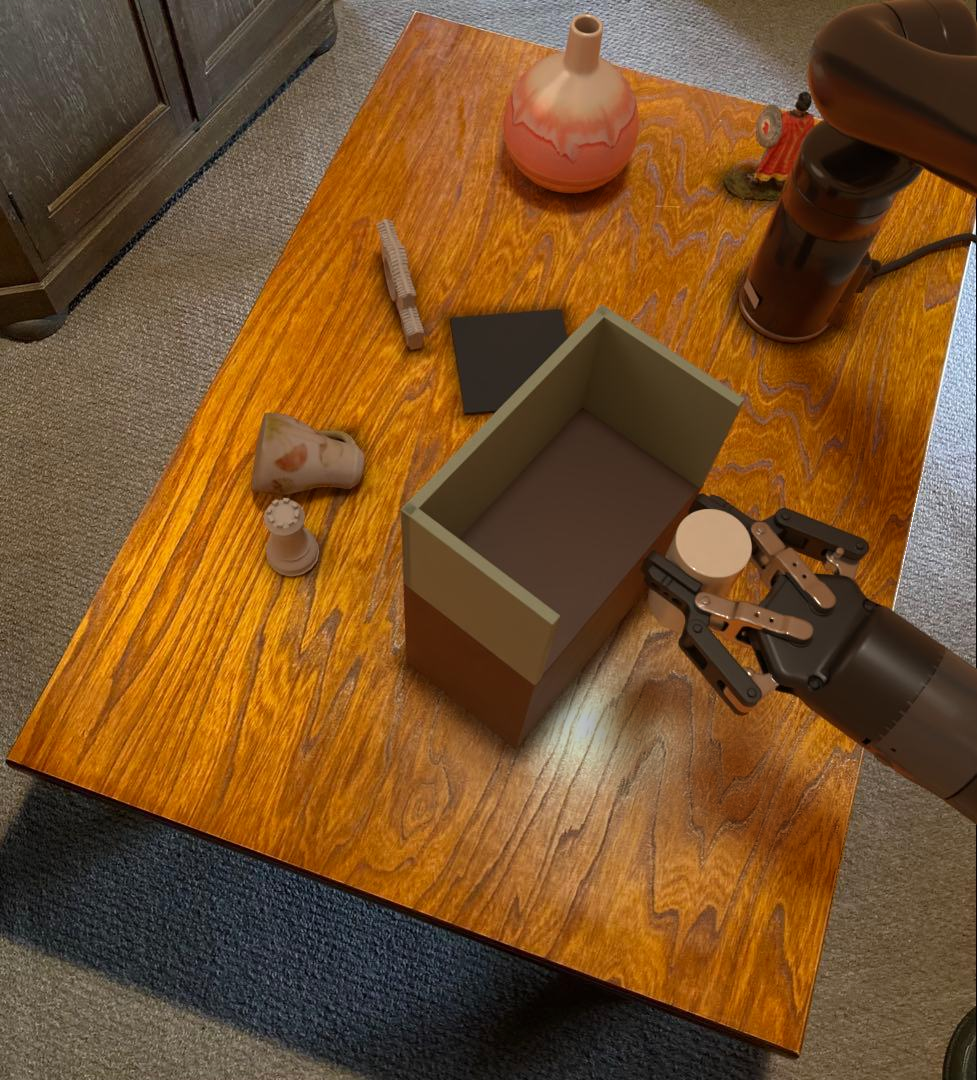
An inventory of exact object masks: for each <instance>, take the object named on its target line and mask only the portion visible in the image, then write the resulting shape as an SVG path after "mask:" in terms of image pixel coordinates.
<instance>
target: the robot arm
mask: <svg viewBox="0 0 977 1080" xmlns="http://www.w3.org/2000/svg"><path fill="white" fill-rule="evenodd" d="M806 75H807V85H808V89H809V94H810V95H811V100H812V102H813V104H814V106H815V108H816V110H817V111H818V113H819V115H820V116H821V118H822V120H821V121H818V123H816V124H814V127H813V128H812V129H811V130H810V131H809V132H808V133H807V134H806V136H805V137H804V139H803V141H802V143H801V145H800V147H799V149H798V152H797V154H796V157H795V159H794V161H793V164H792V166H791V169H790V171H789V174H788V176H787V178H786V181H785V183H784V186H783V188H782V191H781V193H780V196H779V198H778V199H777V200H776V203H775V205H774V208H773V210H772V213H771V215H770V218H769V220H768V222H767V225H766V228H765V230H764V232H763V235H762V236H761V240H760V241H759V244H758V247H757V249H756V252H755V253H754V256H753V259H752V261H751V264H750V266H749V269H748V271H747V274H746V276H745V278H744V279H743V281H742V283H741V285H740V288H739V291H738V306H739V310H740V313H741V314H742V316H743V318H744V320H745V321H746V322H747V323H748V325H749V326H751V327H752V329H754V330H755V331H757V332H758V333H760V334H761V335H762V336H764V337H767V338H769V339H771V340H774V341H778V342H783V343H790V344H791V343H793V344H794V343H797V344H798V343H803V342H807V341H811V340H813V339H815V338H817V337H819V336H820V335H821V334H823V332H825V330H826V329H827V328H830V327H836V326H837V325H838V324H839V322H840V320H841V318H842V317H843V315H844V313H845V311H846V309H847V307H848V305H849V304H850V302H851V300H852V298H853V296H854V295H855V294H856V295H857V294H863V293H864V291H865V289H866V288H867V286H868V284H869V282H870V280H871V279H872V278H876V277H879V276H881V275H884V274H886V273H889V272H891V271H893V270H896V269H897V268H899V267H902V266H905V265H906V264H909V263H910V262H912V261H914V260H916V259H917V258H919V257H921V256H923V255H926V254H928V253H931V252H934V251H937V250H939V249H942V248H945V247H947V246H950V245H954V244H958V243H961V242H972V243H973V244H975V245H977V234H975V233H971V232H965V233H960V234H959V233H958V234H955V235H951V236H949V237H945V238H943V239H939V240H937V241H934V242H931V243H928V244H926V245H925V244H924V246H921V247H919V248H917V249H915V250H913V251H912V252H909V253H908V254H906V255H904V256H901V257H900V258H896V259H895V260H893V261H891V262H888V263H886V264H884V265H882V263H881V261H879V260H878V259H876V258H875V259H874V258H872V256H871V254H870V251H869V250H870V247H871V246H872V244H873V243H874V240H875V238H876V237H877V235H878V233H879V231H880V229H881V227H882V225H883V224H884V222H885V220H886V218H887V216H888V214H889V212H890V210H891V208H892V207H893V205H894V204H895V201H896V200H897V198H898V196H899V195H900V193H901V192H902V191H904V190H905V189H907V188H908V187H909V186H911V185H912V184H913V183H914V182H915V181H916V180H917V179H918V178H919V177H920V175H921V174H922V172H923V171H924V170H925V171H927V172H928V173H930V174H932V175H933V176H935V177H937V178H939V179H941V180H942V181H944V182H946V183H947V184H949V185H951V186H953V187H955V188H957V189H959V190H961V191H962V192H964V193H966V194H968V195H970V196H972V197H973V198H975V199H977V19H976V17H975V15H974V13H973V11H972V10H971V8H970V7H969V6H968V5H967V4H966V3H965V2H964V1H963V0H885V1H879V2H870V3H864V4H859V5H856V6H853V7H851V8H848V9H846V10H844V11H842V12H840V13H838V14H837V15H835V16H834V17H832V18H831V19H829V21H827V22H826V24H825V25H824V26H823V27H822V28H821V30H820V31H819V32H818V33H817V36H816V37H815V39H814V40H813V42H812V45H811V49H810V51H809V55H808V59H807V69H806ZM704 509H715V510H720V511H724V512H726V513H728V514H730V515H732V516H734V517H735V518H736V519H738V520H739V521H740V522H741V523H742V524H743V525H744V527H745V528H746V530H747V531H748V533H749V536H750V539H751V543H752V552H751V557H750V559H749V561H750V563H751V564H752V565H753V566H754V567H755V568H756V570H757V571H758V573H759V579H760V580H761V582H762V583H763V584H764V586H765V587H766V589H767V590H768V592H767V594H766V596H765V598H763V599H762V600H761V601H760V602H759V604H758V605H757V604H754V603H751V602H748V601H745V600H738V601H734V600H731V599H728V598H723V597H720V596H717V595H714V594H711V593H709V592H703V591H701V590H700V589H701V587H702V585H703V584H701V583H700V582H699V581H697V580H696V579H694V578H693V577H691V576H689V575H688V574H687V573H686V572H685V571H683V570H682V569H680V568H679V567H678V566H676V565H675V564H673V563H672V562H671V561H669V560H668V559H666V558H665V557H664V556H662V555H661V554H659V553H658V552H656V551H651V552H650V553H649V554H648V555H647V557H646V558H645V559H644V561H643V564H642V566H641V568H640V569H641V572H642V573H643V574H644V575H645V578H644V581H645V583H646V584H647V586H648V589H649V590H650V589H652V590H653V591H654V592H656V593H657V594H658V595H660V596H662V597H663V598H664V599H665V600H667V601H668V602H669V603H671V604H672V605H674V606H675V607H676V608H678V609H679V610H680V611H681V612H682V613H683V614H684V616H685V625H684V628H683V632H682V633H681V635H680V637H679V638H678V642H677V644H678V647H679V648H680V650H681V651H682V652H683V654H684V655H685V656H686V657H687V659H688V660H689V661H690V662H691V663H692V665H693V666H694V667H695V668H696V669H697V671H698V672H699V673H700V674H701V675H702V677H703V678H704V679H705V680H706V681H707V683H708V684H709V685H710V686H711V687H712V689H713V690H714V691H715V693H716V694H718V696H719V697H720V698H721V700H722V701H723V702H724V703H725V704H726V705H727V707H728V708H729V709H730V710H731V712H732V713H733V714H734V715H736V716H738V717H745V716H747V715H748V714H749V713H751V712H752V711H753V710H754V709H755V707H756V706H757V705H758V704H759V702H761V701H762V700H763V699H765V698H766V697H767V696H768V695H770V694H771V693H773V692H774V691H776V692H778V693H783V694H788V695H791V696H794V697H795V698H798V699H799V700H800V701H801V702H802V703H803V704H804V705H805V706H806V707H807V708H808V709H809V710H811V711H812V712H814V713H815V714H816V715H818V716H819V717H821V718H822V719H823V720H824V721H826V722H828V723H829V724H830V725H832V726H833V727H834V728H836V729H837V730H838V731H840V732H841V733H842V734H844V735H845V736H846V737H847V738H849V739H851V740H852V741H854V742H855V743H856V744H858V746H860V747H862V748H863V749H864V750H866V751H867V752H868V753H870V754H871V755H872V756H873V757H874V759H875V760H877V761H878V762H879V763H881V764H882V765H884V766H886V767H889V768H890V769H892V770H893V771H894V772H896V773H897V774H899V775H900V776H901V777H903V778H904V779H906V780H908V781H910V782H911V783H913V784H915V785H917V786H918V787H920V788H922V789H924V790H926V791H927V792H929V793H931V794H933V795H934V796H936V797H938V799H941V800H943V802H944V803H946V804H947V805H949V806H950V807H951V808H953V809H954V810H956V811H957V812H958V813H960V814H961V815H962V816H964V817H965V818H967V819H968V820H969V821H971V822H972V823H973V824H975V825H976V826H977V667H975V666H974V665H972V664H971V663H970V662H968V661H967V660H965V659H964V658H962V657H961V656H959V655H958V654H956V652H954V651H952V650H951V649H949V648H948V647H946V646H945V645H943V644H942V643H941V642H939V641H938V640H936V639H935V638H933V637H931V636H930V635H929V634H927V633H926V632H925V631H923V630H922V629H920V628H919V627H918V626H916V625H915V624H913V623H911V622H910V621H908V620H907V619H905V618H904V617H903V616H901V615H900V614H899V613H898V612H896V611H894V610H892V609H891V608H889V606H887V605H883V604H880V603H878V602H875V601H873V600H871V599H870V598H868V596H867V595H866V594H865V593H864V592H863V590H862V589H861V587H860V585H859V584H858V582H857V581H856V580H855V579H856V576H857V573H858V569H859V566H860V563H861V561H862V560H863V559H864V557H866V555H867V554H868V553H869V551H870V543H869V542H868V541H867V540H866V539H865V538H864V537H861V536H858V535H856V534H853V533H850V532H848V531H845V530H844V529H840V528H838V527H835V526H833V525H830V524H828V523H825V522H823V521H820V520H818V519H815V518H812V517H811V516H808V515H805V514H802V513H800V512H798V511H795V510H793V509H790V508H787V507H781V508H779V509H777V510H776V512H775V513H774V514H773V515H771V516H769V517H767V518H765V519H762V520H757V519H754V518H751V516H749V515H747V514H745V513H744V512H742V511H741V510H740V509H738V507H736V506H734V505H732V504H731V503H730V502H728V501H727V500H725V499H724V498H722V497H721V496H719V495H715V494H712V493H711V494H710V495H709V496H708V495H707V494H705V493H699V495H698V496H697V497H696V498H695V500H694V501H693V502H692V504H691V506H690V509H689V511H688V514H689V515H690V514H691V513H693V512H696V511H699V510H704ZM799 554H800V555H804V556H806V557H809V558H810V559H814V560H816V561H818V562H821V564H822V566H823V569H824V570H826V571H830V572H831V574H829V573H819V572H818V573H817V572H813V571H812V569H811V567H809V566H808V564H807V563H806V562H805V561H804V560H803V559H802V557H801V556H800V555H799ZM715 634H717V635H719V636H720V638H722V639H723V640H724V641H726V642H729V643H732V644H735V645H738V646H741V647H744V648H746V649H749V650H751V651H753V653H754V656H755V658H756V661H757V663H758V666H759V668H760V671H761V673H758V672H757V671H756V670H755V669H753V668H752V667H750V666H742V665H741V664H740V663H739V662H738V661H737V659H736V658H735V657H734V656H733V654H732V653H731V652H730V651H729V649H728V648H726V646H725V645H724V644H723V643H722V641H721V640H720V639H719V638H718V637H717V636H716V635H715Z"/></svg>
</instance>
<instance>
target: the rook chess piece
mask: <svg viewBox="0 0 977 1080" xmlns="http://www.w3.org/2000/svg"><path fill="white" fill-rule="evenodd" d="M305 518H306V514H305V510H304V508H303V506H301V505H300V503H298V502H296V501H294V500H292V499H290V498H288V497H282V499H279V500H278V498H276V499H274V500H272V501H271V503H270V504H269V506H268V507H267V508H266V509H265V511H264V514H263V523H264V526H265V527H266V528H267V530H268V532H269V533H270V534H271V535H270V536H269V537H268V538H267V539H268V540H267V544H266V548H265V551H266V557H267V562H268V564H269V566H270V567H271V568H272V570H274V571H275V572H277V573H278V574H280V575H282V576H288V577H297V576H300V575H304V574H305V573H307V572H309V571H310V570H312V569H313V567H314V566H315V565H316V563H317V562H318V559H319V555H320V548H319V544H318V542H317V538H316V537H315V536H314V534H313V533H312V531H311V530H309V529H308V528H306V527H304V526H305V523H304V522H305Z"/></svg>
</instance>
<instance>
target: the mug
mask: <svg viewBox="0 0 977 1080" xmlns="http://www.w3.org/2000/svg"><path fill="white" fill-rule="evenodd" d="M340 440H341V441H340ZM365 461H366V458H365V454H364V451H363V450H362V449H361V448H360V447H359V446H358V445H357V444H356V441H355V439H353V437H352V436H351V435H350V434H348V433H346V432H345V431H343V430H337V429H331V430H330V429H322V430H321V429H315V428H313V427H312V426H310V425H308V424H306V423H305V422H303V421H302V420H300V419H298V418H296V417H294V416H292V415H289V414H286V413H280V412H265V413H263V416H262V419H261V423H260V427H259V432H258V437H257V442H256V447H255V454H254V461H253V467H252V475H251V490H252V491H254V492H256V493H260V494H263V495H267V496H285V495H291V494H297V493H299V492H304V491H308V490H311V489H316V488H325V487H326V488H327V487H328V488H339V489H345V490H350V489H352V488H353V487H355V486H357V485H358V484H359V483H360V481H361V479H362V477H363V474H364V470H365V463H366V462H365Z"/></svg>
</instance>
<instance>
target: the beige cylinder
mask: <svg viewBox="0 0 977 1080" xmlns="http://www.w3.org/2000/svg"><path fill="white" fill-rule="evenodd" d="M751 552H752V543H751V539H750V536H749V533H748V531H747V530H746V528H745V527H744V525H743V524H742V523H741V522H740V521H739V520H738V519H736V518H735V517H734V516H732V515H730V514H728V513H726V512H724V511H720V510H715V509H704V510H699V511H696V512H693V513H691V514H690V515H688V516H687V517H686V518H684V519H683V521H682V522H681V523H680V525H679V527H678V529H677V531H676V533H675V535H674V537H673V540H672V542H671V544H670V546H669V548H668V550H667V553H666V555H665V558H666V559H668V560H669V561H671V562H672V563H673V564H675V565H676V566H678V567H679V568H680V569H682V570H683V571H685V572H686V573H687V574H688V575H689V576H691V577H693V578H694V579H696V580H697V581H699V582H700V583H701V584H703V585H702V587H701V589H700V590H701V591H703V592H709V593H711V594H714V595H717V596H720V597H723V598H725V599H727V596H728V595H729V594H730V592H731V590H732V589H733V587H734V585H735V584H736V583H737V580H738V579H739V577H740V576H741V575H742V572H744V570H745V568H746V566H747V564H748V563H749V561H750V560H749V559H750V557H751ZM647 602H648V606H649V607H648V608H649V610H650V612H651V614H652V615H653V617H654V619H655V620H656V621H657V622H658V623H659V624H660V625H661V626H663V627H664V628H666V629H667V630H670V631H672V632H674V633H679V634H682V632H683V628H684V625H685V616H684V614H683V613H682V612H681V611H680V610H679V609H678V608H676V607H675V606H674V605H672V604H671V603H669V602H668V601H667V600H665V599H664V598H663V597H662V596H660V595H658V594H657V593H656V592H654V591H653V590H652V589H650V588H649V590H648V595H647Z"/></svg>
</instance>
